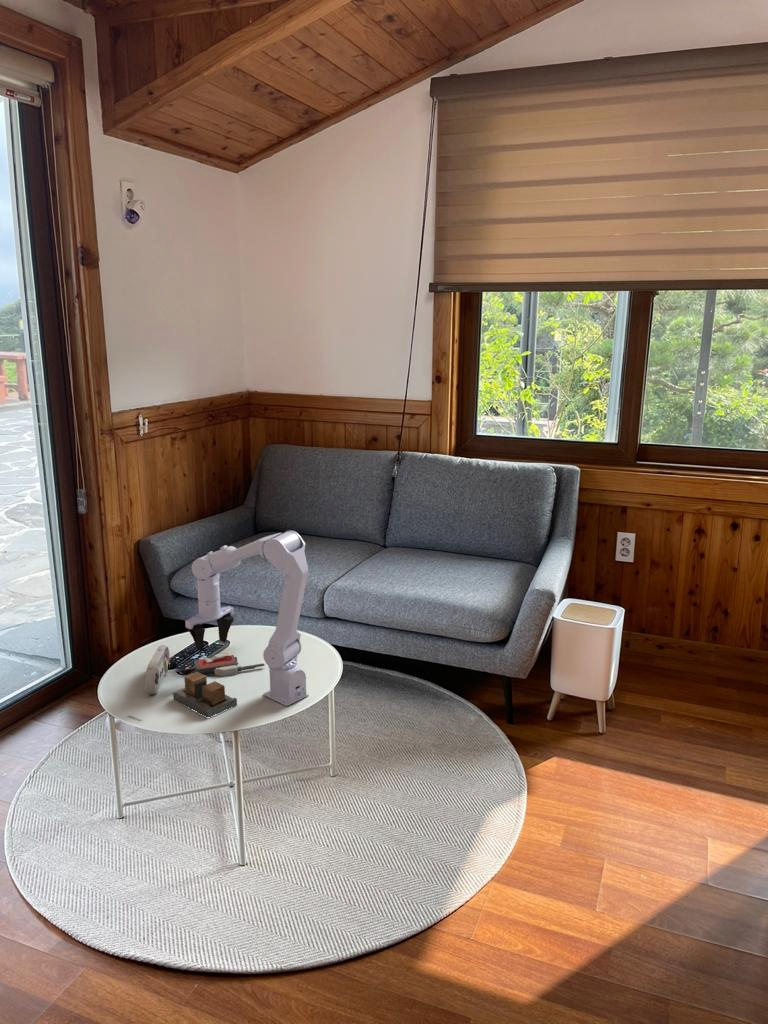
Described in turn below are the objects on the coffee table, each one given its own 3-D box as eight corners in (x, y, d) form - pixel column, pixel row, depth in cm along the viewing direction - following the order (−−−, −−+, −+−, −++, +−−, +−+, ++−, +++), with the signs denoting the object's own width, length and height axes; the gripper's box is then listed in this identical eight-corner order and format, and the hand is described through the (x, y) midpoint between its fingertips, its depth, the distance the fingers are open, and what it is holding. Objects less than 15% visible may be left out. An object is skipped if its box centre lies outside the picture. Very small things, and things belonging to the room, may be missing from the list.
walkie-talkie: (193, 682, 212) (265, 670, 219) (193, 667, 211) (265, 656, 218) (189, 669, 219) (258, 658, 227) (188, 655, 218) (258, 644, 226)
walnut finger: (208, 697, 202) (207, 676, 200) (196, 703, 199) (194, 682, 197) (198, 692, 205) (197, 671, 203) (185, 697, 202) (184, 676, 200)
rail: (237, 705, 198) (236, 684, 197) (208, 718, 192) (206, 696, 190) (202, 687, 208) (201, 667, 206) (173, 699, 201) (172, 678, 200)
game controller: (155, 699, 202) (152, 670, 200) (146, 699, 201) (143, 670, 199) (171, 667, 220) (169, 640, 218) (163, 667, 220) (161, 640, 218)
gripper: (221, 588, 215) (224, 633, 218) (177, 602, 204) (180, 649, 208) (237, 594, 211) (239, 640, 214) (193, 608, 200) (196, 657, 203)
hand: (211, 645), depth 211 cm, fingers open, 7 cm apart
